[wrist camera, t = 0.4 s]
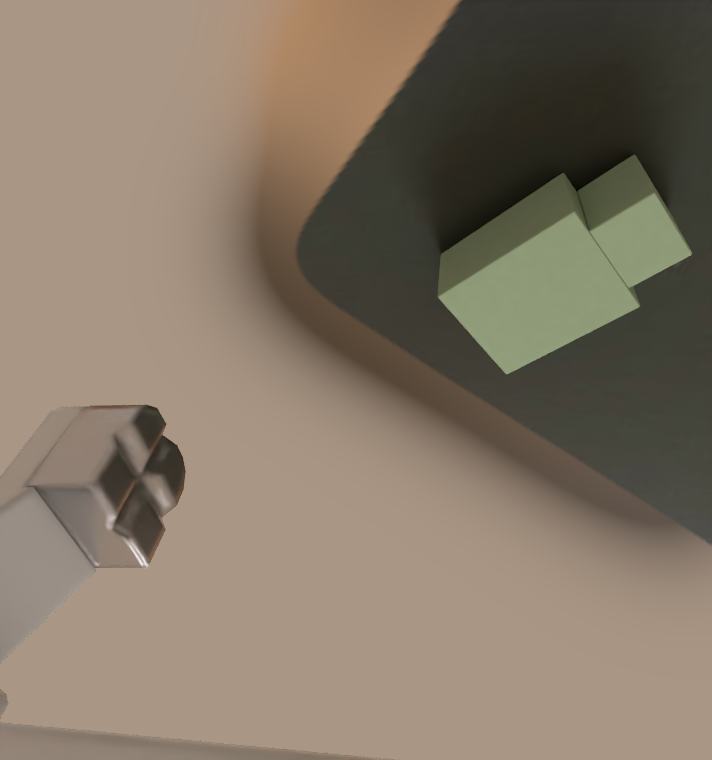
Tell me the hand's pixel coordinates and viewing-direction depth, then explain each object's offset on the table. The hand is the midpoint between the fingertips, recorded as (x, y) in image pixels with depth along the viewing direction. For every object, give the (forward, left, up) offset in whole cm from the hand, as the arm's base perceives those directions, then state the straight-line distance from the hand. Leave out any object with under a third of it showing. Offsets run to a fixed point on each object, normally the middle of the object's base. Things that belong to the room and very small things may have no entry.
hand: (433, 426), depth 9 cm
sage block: (+8, -1, -19) cm, 20 cm away
